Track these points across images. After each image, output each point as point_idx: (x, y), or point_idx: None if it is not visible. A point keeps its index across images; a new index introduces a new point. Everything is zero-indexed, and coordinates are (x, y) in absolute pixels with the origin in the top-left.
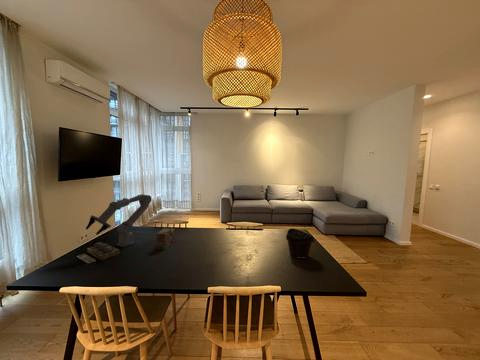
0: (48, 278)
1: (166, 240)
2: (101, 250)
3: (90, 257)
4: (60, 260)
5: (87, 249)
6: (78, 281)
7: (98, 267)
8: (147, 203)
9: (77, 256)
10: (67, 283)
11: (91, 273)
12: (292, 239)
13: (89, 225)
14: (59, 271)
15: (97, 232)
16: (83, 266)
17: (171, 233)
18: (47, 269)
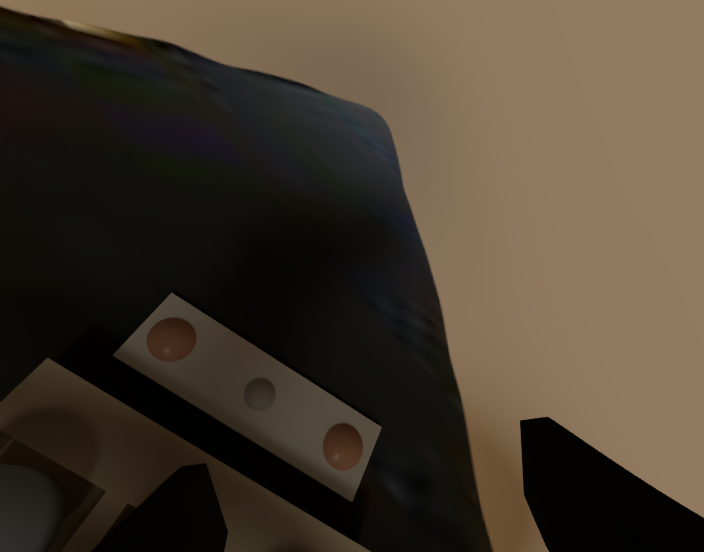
0: (297, 134)
1: None
2: None
3: (226, 415)
4: (433, 349)
5: (364, 548)
6: (74, 59)
7: (6, 218)
8: None
9: (368, 423)
10: (139, 60)
11: (26, 132)
12: None
13: (604, 548)
14: (303, 198)
15: (161, 495)
16: (179, 248)
17: None
18: (393, 230)
